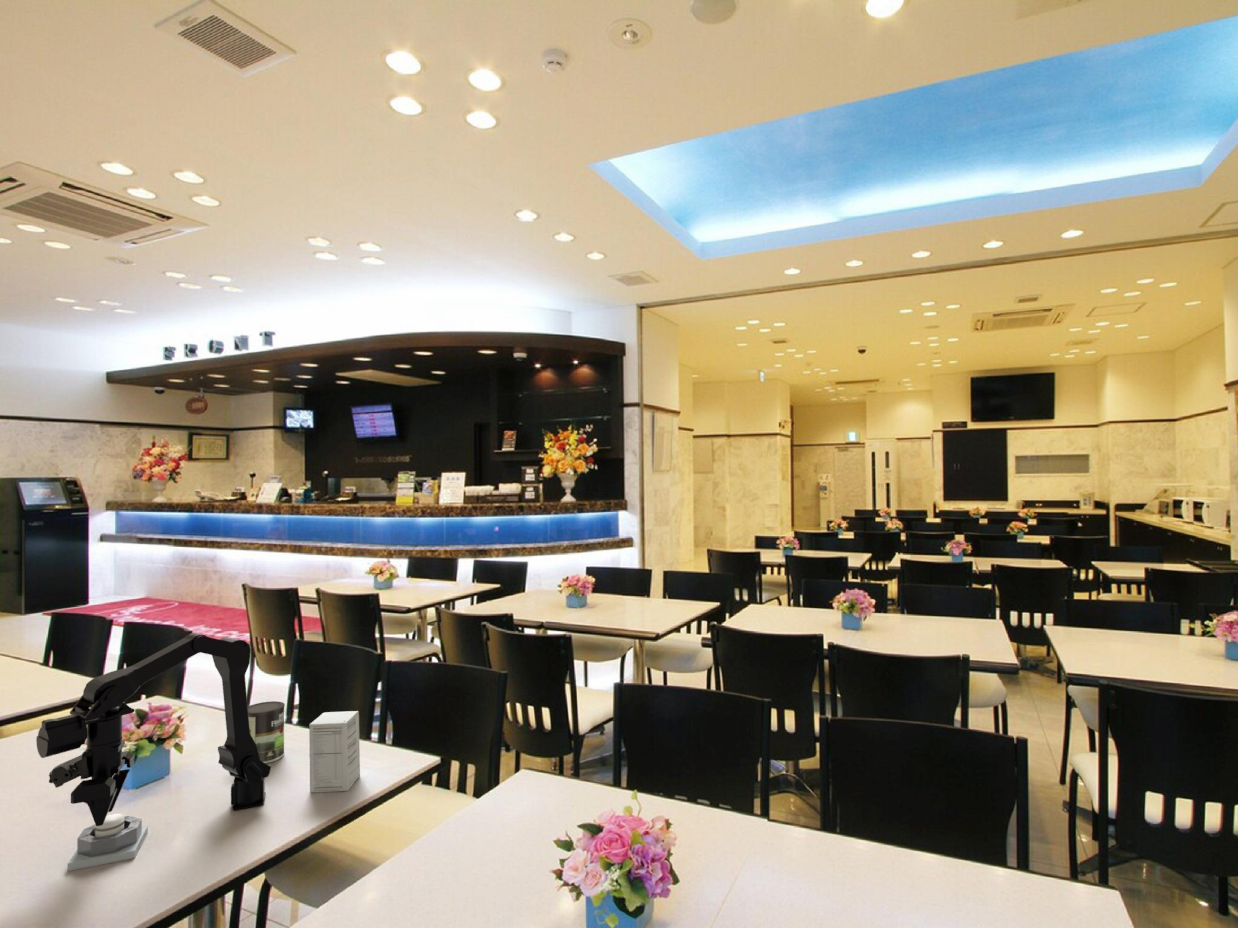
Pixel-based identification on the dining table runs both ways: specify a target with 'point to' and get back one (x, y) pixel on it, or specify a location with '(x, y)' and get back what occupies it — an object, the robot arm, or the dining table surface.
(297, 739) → the dining table surface
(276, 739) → the coffee can
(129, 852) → the piston base
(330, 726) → the supplement box
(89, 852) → the steel ring
